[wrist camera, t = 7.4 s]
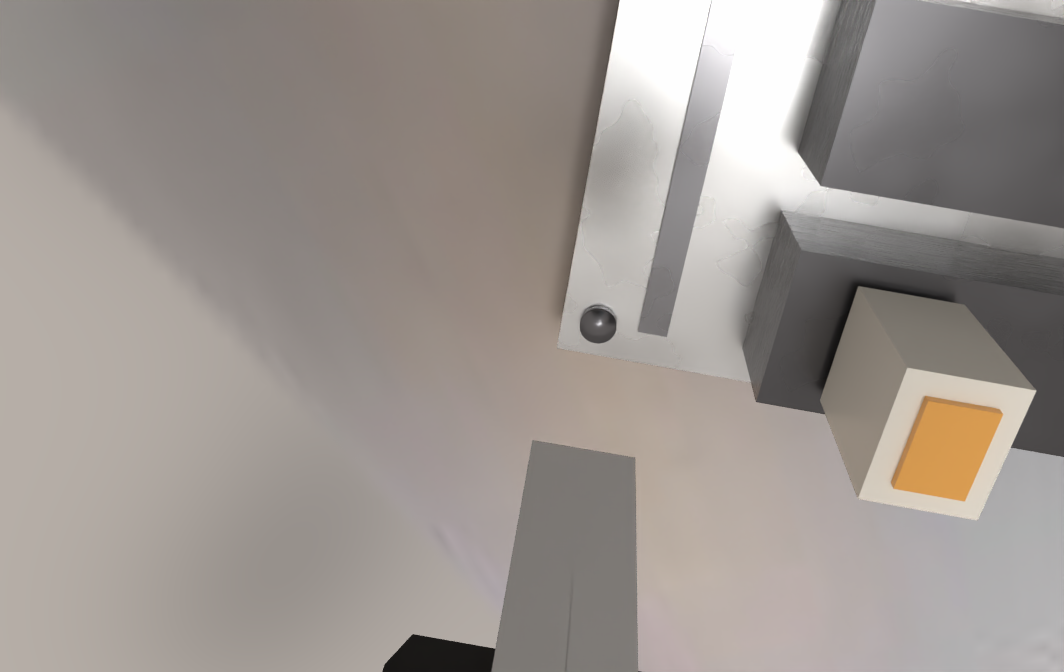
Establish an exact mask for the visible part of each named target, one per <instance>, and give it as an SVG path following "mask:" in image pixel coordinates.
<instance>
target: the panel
mask: <svg viewBox="0 0 1064 672" xmlns="http://www.w3.org/2000/svg"><path fill="white" fill-rule="evenodd" d="M858 286H861V287H867V288H873V289H878V290H884V291H890V292H896V293H901V294H907V295H913V296H918V297H924V298H930V299H935V300H941V301H947V302H952V303H958V304H964V305H965V306H966V307H967V308H968V309H969V310H970V312H971V313H972V314H973V315H974V316H975V318H976V319H977V320H978V321H979V322H980V324H981V325H982V326H983V327H984V328H985V330H986V331H987V332H988V333H989V334H990V336H991V337H992V338H993V339H994V340H995V342H996V343H997V344H998V345H999V346H1000V348H1001V349H1002V350H1003V351H1004V352H1005V354H1006V355H1007V356H1008V357H1009V358H1010V360H1011V361H1012V362H1013V363H1014V364H1015V366H1016V367H1017V368H1018V369H1019V370H1020V371H1021V373H1022V374H1023V375H1024V376H1025V377H1026V379H1027V380H1028V381H1029V382H1030V383H1031V385H1032V386H1033V387H1034V388H1035V389H1036V393H1035V395H1034V397H1033V399H1032V402H1031V404H1030V406H1029V408H1028V410H1027V413H1026V415H1025V417H1024V419H1023V421H1022V424H1021V426H1020V428H1019V430H1018V433H1017V435H1016V437H1015V439H1014V441H1013V444H1012V446H1011V448H1017V449H1022V450H1028V451H1034V452H1039V453H1045V454H1050V455H1056V456H1062V457H1064V0H619V5H618V10H617V16H616V21H615V27H614V32H613V38H612V43H611V49H610V54H609V60H608V65H607V71H606V76H605V82H604V87H603V93H602V98H601V104H600V109H599V115H598V120H597V126H596V131H595V137H594V142H593V148H592V153H591V159H590V164H589V170H588V175H587V181H586V186H585V192H584V197H583V203H582V208H581V214H580V219H579V225H578V230H577V236H576V241H575V247H574V252H573V258H572V263H571V269H570V274H569V280H568V285H567V291H566V296H565V302H564V307H563V313H562V318H561V324H560V331H559V337H558V343H557V348H559V349H564V350H570V351H576V352H581V353H587V354H592V355H598V356H604V357H609V358H615V359H621V360H626V361H632V362H637V363H643V364H649V365H654V366H660V367H665V368H671V369H677V370H682V371H688V372H693V373H699V374H705V375H710V376H716V377H722V378H727V379H733V380H738V381H744V382H750V383H751V384H752V388H753V392H754V396H755V400H756V402H759V403H765V404H771V405H776V406H782V407H787V408H793V409H799V410H804V411H810V412H815V413H821V414H825V412H824V410H823V407H822V404H821V402H820V399H821V396H822V393H823V390H824V387H825V384H826V381H827V378H828V375H829V372H830V369H831V366H832V363H833V360H834V357H835V354H836V351H837V348H838V345H839V342H840V339H841V336H842V333H843V330H844V327H845V324H846V321H847V318H848V315H849V312H850V309H851V306H852V303H853V300H854V297H855V294H856V291H857V288H858Z"/></svg>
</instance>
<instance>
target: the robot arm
mask: <svg viewBox="0 0 1064 672" xmlns="http://www.w3.org/2000/svg"><path fill="white" fill-rule="evenodd" d="M383 672H640V671H638V639H637V560H636V481H635V458H634V457H628V456H622V455H616V454H610V453H605V452H599V451H593V450H587V449H581V448H575V447H569V446H563V445H557V444H552V443H546V442H540V441H534V440H532V446H531V452H530V457H529V463H528V469H527V474H526V480H525V485H524V491H523V497H522V502H521V508H520V514H519V519H518V525H517V530H516V536H515V542H514V547H513V553H512V559H511V564H510V570H509V575H508V581H507V587H506V592H505V598H504V604H503V609H502V615H501V621H500V626H499V632H498V637H497V643H496V649H493V648H488V647H482V646H476V645H471V644H465V643H459V642H454V641H448V640H442V639H436V638H431V637H425V636H420V635H414V634H413V635H412V636H411V637H410V638H409V639H408V640H407V641H406V642H405V643H404V644H403V645H402V646H401V648H400V649H399V650H398V651H397V652H396V653H395V654H394V655H393V656H392V657H391V658H390V659H389V660H388V661H387V663H386V664H385V665H384V668H383Z"/></svg>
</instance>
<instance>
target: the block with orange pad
mask: <svg viewBox="0 0 1064 672" xmlns="http://www.w3.org/2000/svg"><path fill="white" fill-rule="evenodd" d="M1035 393H1036V389H1035V388H1034V387H1033V386H1032V385H1031V383H1030V382H1029V381H1028V380H1027V379H1026V377H1025V376H1024V375H1023V374H1022V373H1021V371H1020V370H1019V369H1018V368H1017V367H1016V366H1015V364H1014V363H1013V362H1012V361H1011V360H1010V358H1009V357H1008V356H1007V355H1006V354H1005V352H1004V351H1003V350H1002V349H1001V348H1000V346H999V345H998V344H997V343H996V342H995V340H994V339H993V338H992V337H991V336H990V334H989V333H988V332H987V331H986V330H985V328H984V327H983V326H982V325H981V324H980V322H979V321H978V320H977V319H976V318H975V316H974V315H973V314H972V313H971V312H970V310H969V309H968V308H967V307H966V306H965V305H964V304H958V303H952V302H947V301H941V300H935V299H930V298H924V297H918V296H913V295H907V294H901V293H896V292H890V291H884V290H878V289H873V288H867V287H861V286H858V288H857V291H856V294H855V297H854V300H853V303H852V306H851V309H850V312H849V315H848V318H847V321H846V324H845V327H844V330H843V333H842V336H841V339H840V342H839V345H838V348H837V351H836V354H835V357H834V360H833V363H832V366H831V369H830V372H829V375H828V378H827V381H826V384H825V387H824V390H823V393H822V396H821V399H820V402H821V404H822V407H823V410H824V412H825V415H826V417H827V420H828V423H829V425H830V428H831V430H832V433H833V436H834V438H835V441H836V443H837V446H838V449H839V451H840V454H841V456H842V459H843V461H844V464H845V467H846V469H847V472H848V474H849V477H850V480H851V482H852V485H853V487H854V490H855V493H856V495H857V498H858V499H861V500H867V501H872V502H878V503H884V504H889V505H895V506H900V507H906V508H911V509H917V510H922V511H928V512H933V513H939V514H945V515H950V516H956V517H961V518H967V519H972V520H978V518H979V516H980V514H981V512H982V510H983V507H984V505H985V503H986V501H987V499H988V496H989V494H990V492H991V490H992V488H993V485H994V483H995V481H996V479H997V477H998V474H999V472H1000V470H1001V468H1002V466H1003V463H1004V461H1005V459H1006V457H1007V455H1008V452H1009V450H1010V448H1011V446H1012V444H1013V441H1014V439H1015V437H1016V435H1017V433H1018V430H1019V428H1020V426H1021V424H1022V421H1023V419H1024V417H1025V415H1026V413H1027V410H1028V408H1029V406H1030V404H1031V402H1032V399H1033V397H1034V395H1035Z"/></svg>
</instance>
